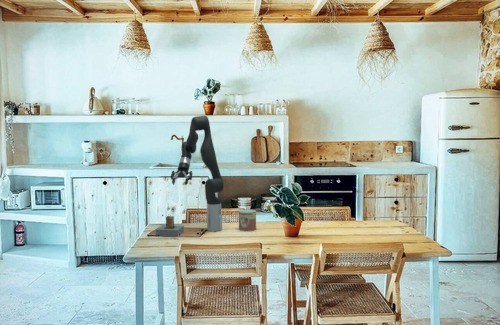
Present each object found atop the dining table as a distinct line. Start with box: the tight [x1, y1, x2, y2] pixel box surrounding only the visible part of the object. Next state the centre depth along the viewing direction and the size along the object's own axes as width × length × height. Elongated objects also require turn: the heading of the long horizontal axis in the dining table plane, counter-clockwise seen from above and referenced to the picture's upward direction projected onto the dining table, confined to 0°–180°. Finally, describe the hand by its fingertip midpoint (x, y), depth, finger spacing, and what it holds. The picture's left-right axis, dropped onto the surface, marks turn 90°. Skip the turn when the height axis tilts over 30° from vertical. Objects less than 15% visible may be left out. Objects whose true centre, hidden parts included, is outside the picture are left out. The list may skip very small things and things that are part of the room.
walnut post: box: [165, 215, 175, 229], centre depth 276 cm, size 4×4×11 cm
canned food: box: [238, 208, 257, 232], centre depth 286 cm, size 11×11×12 cm
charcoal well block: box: [155, 224, 185, 237], centre depth 276 cm, size 14×12×4 cm
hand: (179, 184), depth 294 cm, fingers open, 8 cm apart
